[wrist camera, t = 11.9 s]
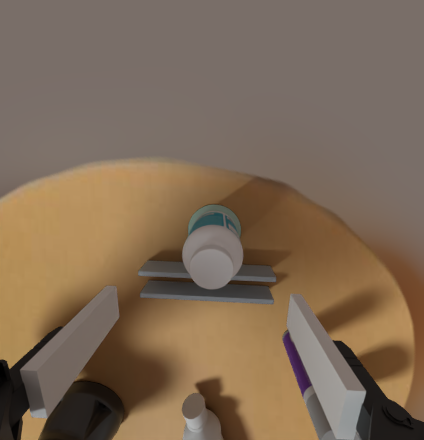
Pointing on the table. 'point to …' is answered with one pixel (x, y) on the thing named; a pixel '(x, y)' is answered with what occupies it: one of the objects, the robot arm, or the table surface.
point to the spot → (214, 208)
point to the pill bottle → (213, 250)
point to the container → (309, 392)
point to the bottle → (200, 420)
